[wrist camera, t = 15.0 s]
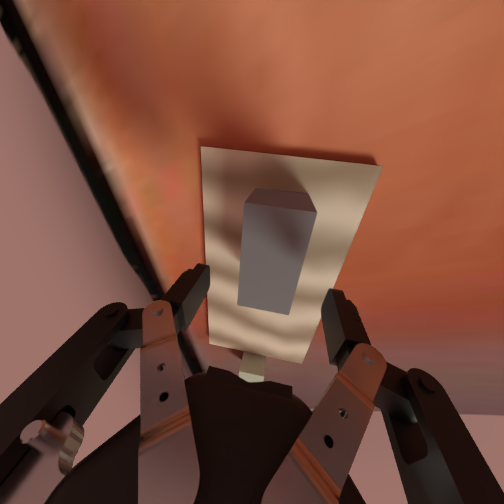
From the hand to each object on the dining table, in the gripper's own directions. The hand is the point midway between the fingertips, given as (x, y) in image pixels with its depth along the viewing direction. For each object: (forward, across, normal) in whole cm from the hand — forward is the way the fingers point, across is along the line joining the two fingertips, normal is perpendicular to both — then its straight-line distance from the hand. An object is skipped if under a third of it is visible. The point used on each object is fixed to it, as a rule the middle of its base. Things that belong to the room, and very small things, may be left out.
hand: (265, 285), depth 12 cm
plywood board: (+10, 0, +8) cm, 12 cm away
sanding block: (+9, 0, +1) cm, 9 cm away
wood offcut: (+9, 0, +26) cm, 27 cm away
